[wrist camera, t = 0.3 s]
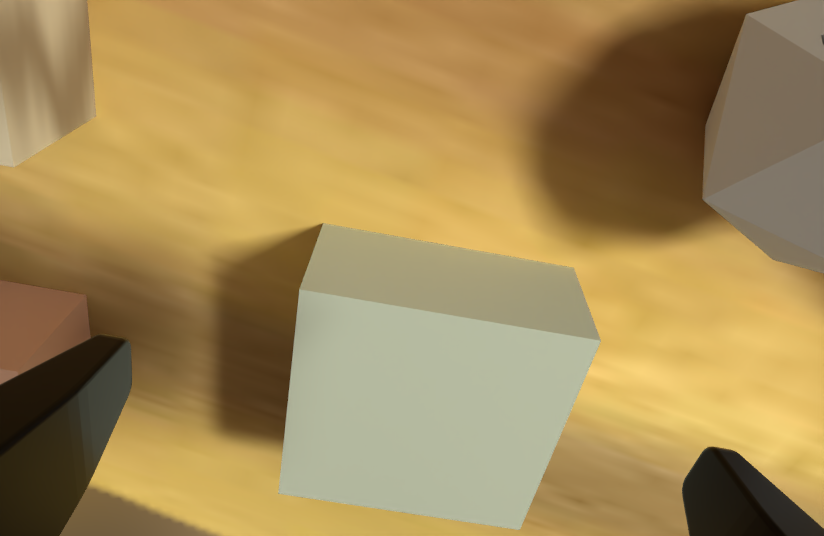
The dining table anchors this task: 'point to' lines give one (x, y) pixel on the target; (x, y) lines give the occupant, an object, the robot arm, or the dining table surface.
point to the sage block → (431, 376)
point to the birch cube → (43, 74)
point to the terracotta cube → (38, 325)
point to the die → (772, 134)
